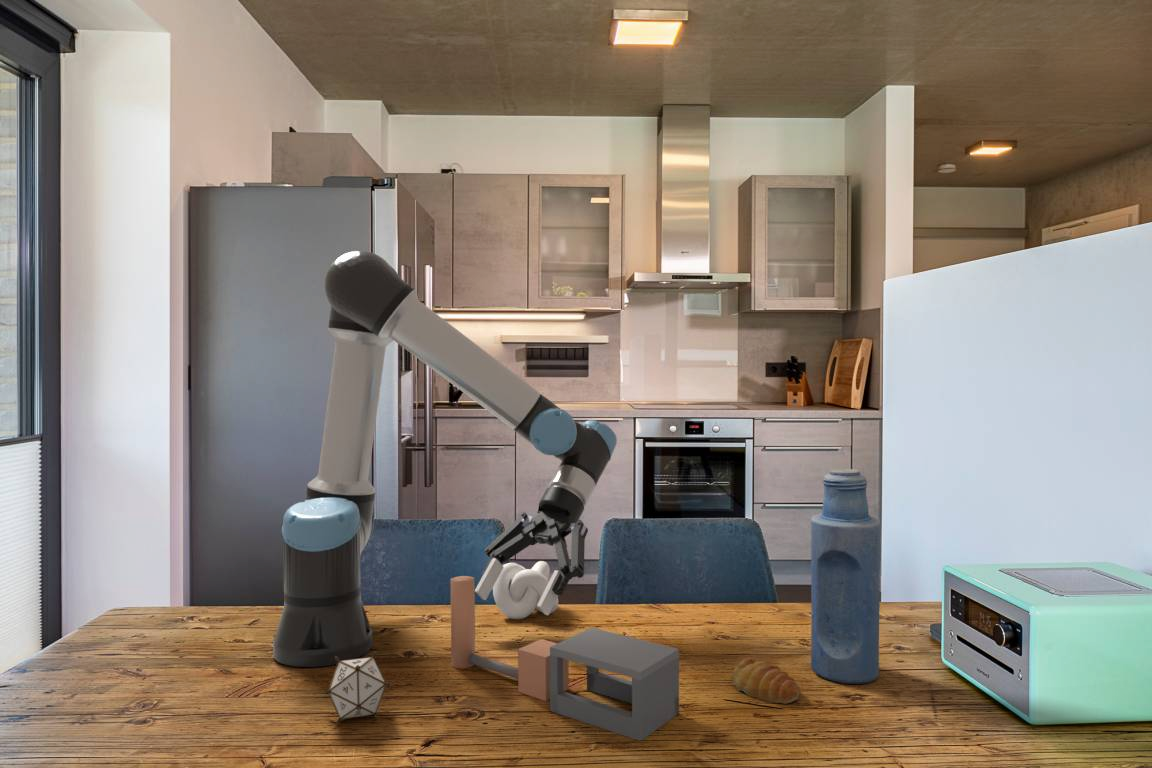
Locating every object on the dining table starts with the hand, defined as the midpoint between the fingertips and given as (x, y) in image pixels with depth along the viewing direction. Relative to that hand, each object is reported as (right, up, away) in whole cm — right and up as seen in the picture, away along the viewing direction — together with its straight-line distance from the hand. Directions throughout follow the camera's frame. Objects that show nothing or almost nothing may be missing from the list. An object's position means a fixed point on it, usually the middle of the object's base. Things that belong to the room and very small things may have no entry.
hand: (510, 603), depth 128 cm
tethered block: (0, -7, -13) cm, 15 cm away
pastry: (+37, -8, -18) cm, 42 cm away
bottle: (+50, -7, -12) cm, 52 cm away
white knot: (+2, -7, +17) cm, 18 cm away
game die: (-18, -8, -26) cm, 32 cm away
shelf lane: (+16, -7, -25) cm, 30 cm away
